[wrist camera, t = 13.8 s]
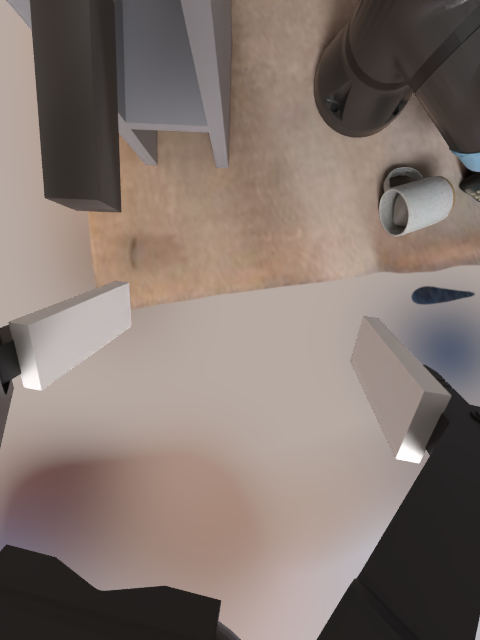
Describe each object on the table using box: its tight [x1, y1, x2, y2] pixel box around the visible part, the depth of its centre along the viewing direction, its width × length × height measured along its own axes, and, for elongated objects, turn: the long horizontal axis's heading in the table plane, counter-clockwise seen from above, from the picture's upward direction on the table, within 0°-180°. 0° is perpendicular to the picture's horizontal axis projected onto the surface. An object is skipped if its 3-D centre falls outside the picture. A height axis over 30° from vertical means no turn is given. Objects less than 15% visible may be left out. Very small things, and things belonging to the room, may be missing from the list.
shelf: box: [7, 0, 232, 168], centre depth 29 cm, size 14×19×30 cm
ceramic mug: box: [379, 167, 455, 237], centre depth 43 cm, size 11×8×8 cm
